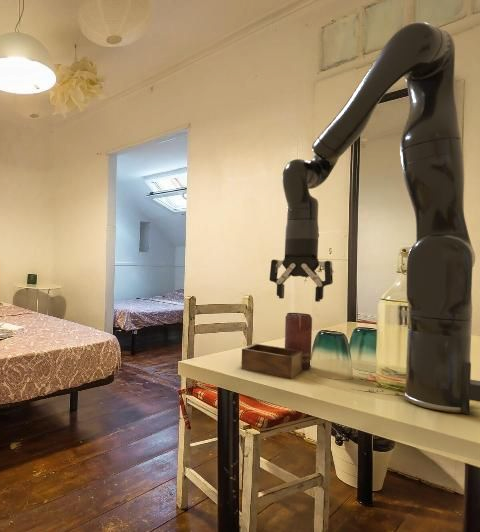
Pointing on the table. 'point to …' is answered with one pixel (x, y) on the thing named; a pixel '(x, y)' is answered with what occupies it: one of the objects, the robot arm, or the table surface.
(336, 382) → the table surface
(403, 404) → the table surface
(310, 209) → the robot arm
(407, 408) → the table surface
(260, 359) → the holder
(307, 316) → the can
